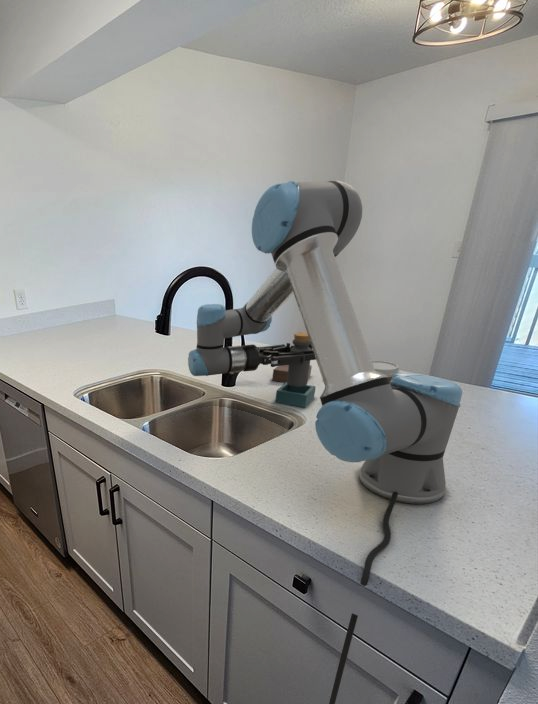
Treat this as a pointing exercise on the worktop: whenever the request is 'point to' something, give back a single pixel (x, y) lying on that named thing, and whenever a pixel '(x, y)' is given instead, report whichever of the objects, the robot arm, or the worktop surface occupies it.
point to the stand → (283, 373)
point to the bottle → (299, 371)
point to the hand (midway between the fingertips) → (316, 351)
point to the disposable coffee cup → (386, 368)
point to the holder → (295, 395)
